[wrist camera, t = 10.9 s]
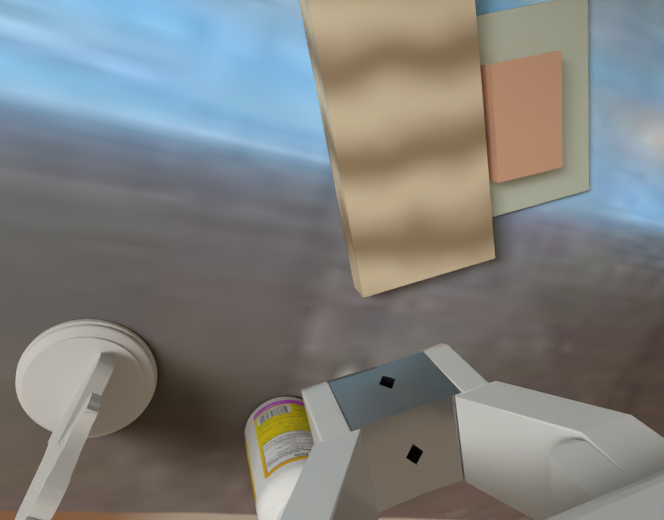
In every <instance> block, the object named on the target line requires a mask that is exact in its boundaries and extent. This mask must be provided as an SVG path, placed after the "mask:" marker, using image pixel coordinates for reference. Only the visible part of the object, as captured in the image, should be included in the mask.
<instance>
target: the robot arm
mask: <svg viewBox="0 0 664 520" xmlns="http://www.w3.org/2000/svg"><path fill="white" fill-rule="evenodd" d="M302 397H303V401H304V405H305V409H306V413H307V417H308V421H309V425H310V429H311V433H312V437H313V441H314V445H313V447H312V449H311V451H310V454H309V456H308V458H307V460H306V462H305V465H304V467H303V469H302V471H301V474H300V476H299V478H298V480H297V483H296V485H295V487H294V489H293V492H292V494H291V496H290V498H289V501H288V503H287V505H286V507H285V510H284V512H283V514H282V516H281V519H280V520H378V519H379V512H381V511H383V510H386V509H388V508H390V507H393V506H395V505H398V504H400V503H402V502H405V501H407V500H409V499H412V498H414V497H417V496H419V495H421V494H424V493H427V492H430V491H433V490H436V489H438V488H441V487H444V486H447V485H450V484H453V483H455V482H458V481H461V480H464V479H465V482H467V483H469V484H471V485H473V486H474V487H476V488H478V489H480V490H482V491H483V492H485V493H487V494H489V495H491V496H492V497H494V498H496V499H498V500H500V501H501V502H503V503H505V504H507V505H509V506H511V507H512V508H514V509H516V510H518V511H520V512H521V513H523V514H525V515H527V516H529V517H530V518H532V519H534V520H664V438H663V437H661V436H660V435H659V434H657V433H656V432H654V431H653V430H652V429H650V428H649V427H647V426H646V425H645V424H643V423H642V422H640V421H639V420H637V419H636V418H635V417H633V416H632V415H629V414H625V413H621V412H617V411H613V410H609V409H605V408H601V407H597V406H593V405H589V404H585V403H581V402H577V401H573V400H569V399H565V398H561V397H558V396H554V395H550V394H546V393H542V392H538V391H534V390H530V389H526V388H522V387H518V386H514V385H510V384H506V383H502V382H498V381H495V382H492V383H488V382H487V381H486V380H485V379H484V378H483V377H482V376H481V375H480V374H478V373H477V372H476V371H475V370H474V369H473V368H472V367H471V366H470V365H469V364H468V363H467V362H466V361H464V360H463V359H462V358H461V357H460V356H459V355H458V354H457V353H456V352H455V351H454V350H453V349H451V348H450V347H449V346H448V345H447V344H444V343H441V344H439V345H436V346H433V347H430V348H428V349H425V350H422V351H420V352H418V353H415V354H412V355H409V356H406V357H404V358H401V359H398V360H395V361H392V362H389V363H386V364H383V365H381V366H378V367H372V368H369V369H366V370H362V371H359V372H356V373H353V374H349V375H346V376H343V377H339V378H336V379H333V380H329V381H327V382H323V383H320V384H317V385H314V386H311V387H308V388H305V389H302Z"/></svg>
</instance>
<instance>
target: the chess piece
mask: <svg viewBox="0 0 664 520" xmlns="http://www.w3.org/2000/svg"><path fill="white" fill-rule="evenodd" d="M156 384H157V366H156V362H155V359H154V356H153V354H152V352H151V350H150V349H149V347H148V346H147V344H146V343H145V342H144V341H143V340H142V339H141V338H140V337H139V336H138V335H136V334H135V333H134V332H132V331H131V330H129V329H127V328H125V327H123V326H121V325H119V324H116V323H113V322H110V321H105V320H99V319H79V320H72V321H68V322H64V323H61V324H58V325H56V326H54V327H52V328H50V329H48V330H46V331H45V332H43V333H42V334H40V335H39V336H38V337H37V338H35V339H34V340H33V341H32V342H31V344H30V345H29V346H28V347H27V349H26V350H25V351H24V353H23V355H22V357H21V359H20V361H19V363H18V367H17V371H16V392H17V396H18V399H19V401H20V404H21V405H22V407H23V409H24V410H25V412H26V413H27V414H28V415H29V416H30V417H31V418H32V419H33V420H34V421H35V422H36V423H38V424H39V425H41V426H42V427H44V428H46V429H47V430H50V431H52V432H53V433H52V435H51V437H50V439H49V441H48V444H49V445H48V448H47V450H46V453H45V455H44V458H43V460H42V462H41V464H40V466H39V468H38V471H37V473H36V475H35V477H34V479H33V481H32V483H31V485H30V487H29V489H28V492H27V494H26V496H25V498H24V500H23V503H22V505H21V507H20V508H19V511H18V514H17V516H16V518H15V520H51V518H52V516H53V515H54V513H55V511H56V509H57V508H58V506H59V504H60V502H61V499H62V497H63V495H64V493H65V491H66V489H67V486H68V484H69V482H70V479H71V474H72V472H73V470H74V468H75V465H76V463H77V461H78V458H79V454H80V452H81V449H82V447H83V445H84V443H85V441H86V439H87V438H90V437H98V436H103V435H107V434H110V433H113V432H115V431H118V430H120V429H122V428H124V427H126V426H127V425H129V424H130V423H132V422H133V421H134V420H135V419H136V418H138V417H139V416H140V415H141V413H142V412H143V411H144V410H145V408H146V407H147V406H148V404H149V403H150V401H151V399H152V397H153V395H154V392H155V389H156Z"/></svg>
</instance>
